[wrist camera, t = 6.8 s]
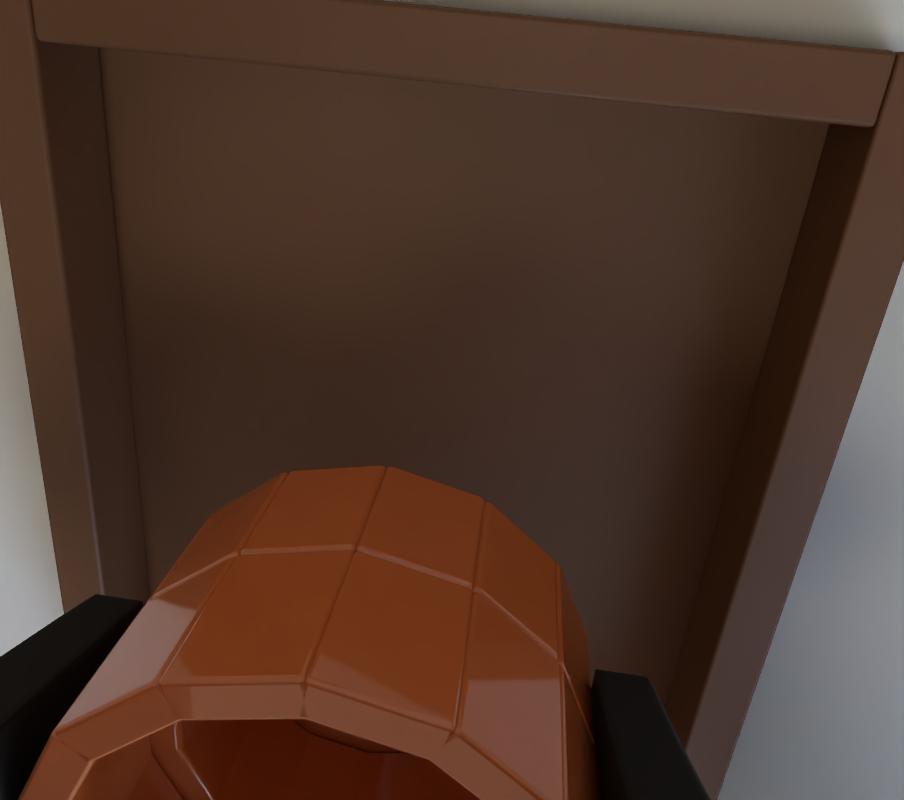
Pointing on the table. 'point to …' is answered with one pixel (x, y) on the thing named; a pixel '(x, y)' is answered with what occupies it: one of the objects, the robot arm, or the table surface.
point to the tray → (456, 291)
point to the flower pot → (340, 659)
